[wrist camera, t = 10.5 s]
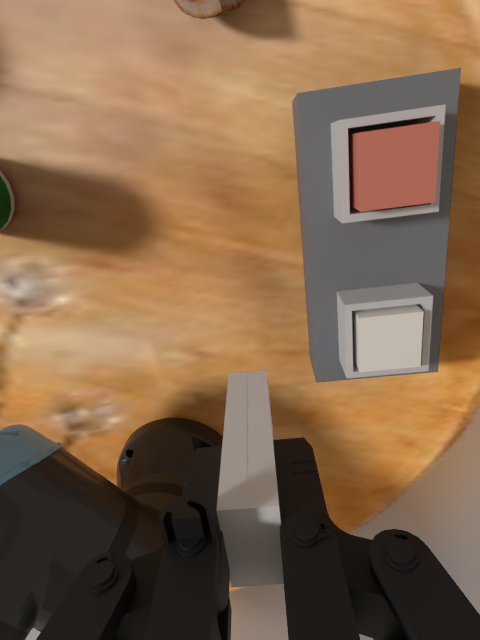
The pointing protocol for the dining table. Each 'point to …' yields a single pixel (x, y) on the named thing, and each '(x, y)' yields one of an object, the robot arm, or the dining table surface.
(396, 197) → the red plug
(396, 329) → the pale plug
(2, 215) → the soda can
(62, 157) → the dining table surface
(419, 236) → the plug panel
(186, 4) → the fruit slice
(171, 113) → the dining table surface
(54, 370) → the dining table surface
